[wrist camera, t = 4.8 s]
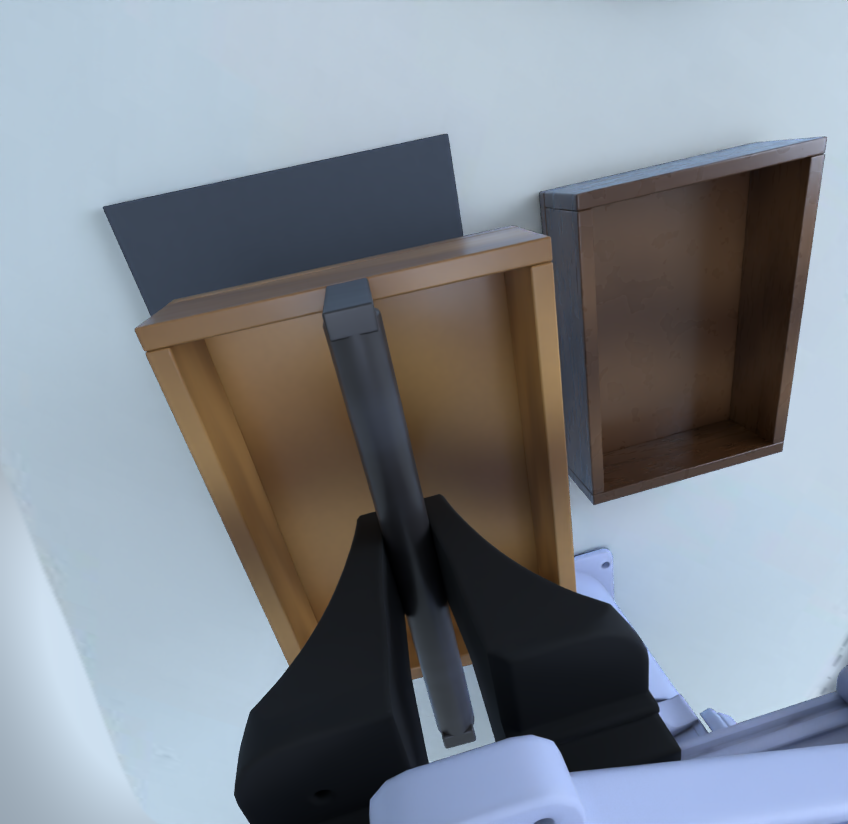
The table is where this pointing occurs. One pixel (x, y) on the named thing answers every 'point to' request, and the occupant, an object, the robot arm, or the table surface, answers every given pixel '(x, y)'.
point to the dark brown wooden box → (681, 311)
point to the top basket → (379, 427)
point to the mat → (288, 220)
